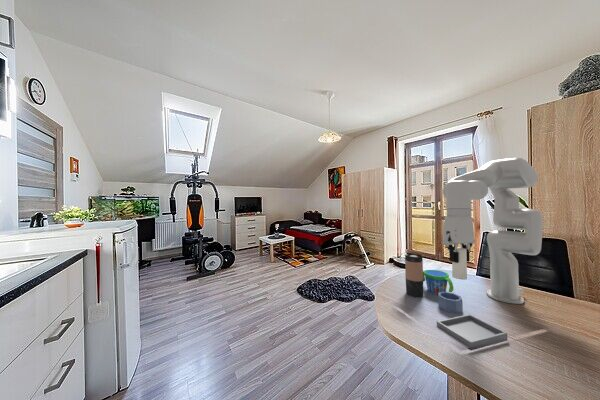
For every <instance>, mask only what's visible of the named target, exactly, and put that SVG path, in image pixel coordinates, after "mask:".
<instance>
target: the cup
mask: <svg viewBox="0 0 600 400" xmlns="http://www.w3.org/2000/svg"><path fill="white" fill-rule="evenodd" d="M437 297H438V300H437V301H438V308H439V309H442V310H443V311H444V312H446V313H452V314H461V313H464V312H463V311H464V310H463V309H464V308H463V304H464V303H463V298H462V296H461V295H459V294H456V293H454V292H449V291H446V292H439V293H438V294H437Z"/></svg>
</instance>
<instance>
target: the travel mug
mask: <svg viewBox="0 0 600 400" xmlns="http://www.w3.org/2000/svg"><path fill="white" fill-rule="evenodd" d="M404 260H405V263H404V264H405V274H404V275H405V276H404V277H405V292H406V294H407V295H408V296H409V297H413V298H422V297H424V281H423V271H424V263H423V262H424V261H423V255H422V254H418V253H407V254H404Z"/></svg>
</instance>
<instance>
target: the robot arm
mask: <svg viewBox="0 0 600 400" xmlns="http://www.w3.org/2000/svg"><path fill="white" fill-rule="evenodd" d="M538 176H539V175H538V173H537V171H536V170H535V169H534V168H533V166H532V165H531V164H530V163H529V162H528V161H527V160H526V159H524V158H522V157H510V158H502V159H494V160H490V161H488V162H486V163H485V164H483V165H482V166H480V167H479V168H477V169H475V170H473V171H470V172H466V173H464V174H462V175H458V176H456V177H453V178H452V179H450V180H449V181H448V182H446V183H445V184H444V185H443V187H442V195H443V197H444V198H445V200H446V202H445V203H446V216H444V220H443V228H442V244H443V245H444V246H445V247H446V248H447V250H448V251H449V253H448V254H449V255H448V257H449V261H450V262H451V263H452V262H455V263H458V262H459V253H458V252H457V248H458V247H459V245H460V248H465V249H467V263H469V262H470V261H471V260H470V252H471V250H472V249H471V248H472V247H473V245H474V244H475V243H476V239H475V230H474V221H473V219H472V200H473V201H476V200H482V199H484V198H485V197H486V196H487V195H488V194H489V191H490V192H491V194H492V196H493V198H494V204H493V205H494V207H493V216H492V217H493V218H492V221H493V224H494V226H496V227H498V228H501V230H500V229H499V230H497V229H496V230H492V231H490V232H488V233H487V236H486V242H487V246H488V250H489V251H488V252H489V266H490V267H489V271H490V275H489V276H490V289H488V290H486V295H487V296H488V297H490V298H491V299H493V300H495V301H499V302H502V303H506V304H511V305H521V304H524V303H525V299H524V298H523V297H522V296H520V294H521V293H522V294H523V293H524V291H525V290H524V289H523V288H522V287H519V286H520V285H519V284H520V283H519V282H520V280H519V262H518V260H517V258H516V257H515V255H514V254H521V255H527V256H537V255H539V254H540V253H541V251H542V243H543V223H544V219H543V215H542V213H541V212H540V211H539V210H537V209H535V208H534V209H533V208H520V197H519V196H518V195H517V194H516V193H515V192H514V191H513V190H511V189H524V188H525V189H527V188H532V187H534V186H535V185H536V184H537V182H538V178H539V177H538ZM502 228H503V229H511V230H524V231H525V232H521V231H511V230H502ZM513 253H514V254H513Z"/></svg>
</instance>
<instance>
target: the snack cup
mask: <svg viewBox="0 0 600 400" xmlns="http://www.w3.org/2000/svg"><path fill="white" fill-rule="evenodd" d="M423 282H425V283H426V289H427V291H428V292H429V293H431V294H434V295H438V293H439V292H447V289H448V292H449V293H453V291H454V284H453V282H452V280H451V278H450V276H449V274H448V273H447V272H445V271H442V270H437V269H425V270H423ZM448 286H449V288H448Z"/></svg>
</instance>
